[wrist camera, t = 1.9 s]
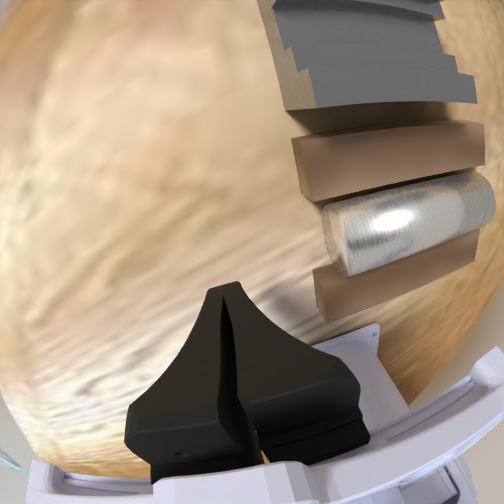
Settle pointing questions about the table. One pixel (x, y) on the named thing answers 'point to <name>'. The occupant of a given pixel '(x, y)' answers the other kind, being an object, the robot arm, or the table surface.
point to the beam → (378, 174)
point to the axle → (404, 220)
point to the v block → (361, 53)
